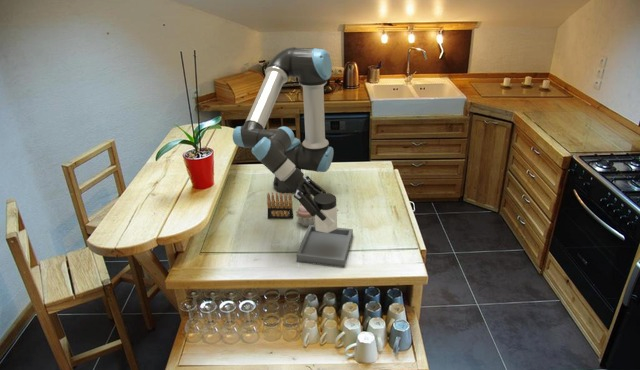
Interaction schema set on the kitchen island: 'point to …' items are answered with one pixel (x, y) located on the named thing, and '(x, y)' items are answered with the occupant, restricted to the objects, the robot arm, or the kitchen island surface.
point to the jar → (326, 211)
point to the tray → (325, 247)
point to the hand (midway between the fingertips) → (334, 217)
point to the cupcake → (304, 217)
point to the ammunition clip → (279, 207)
